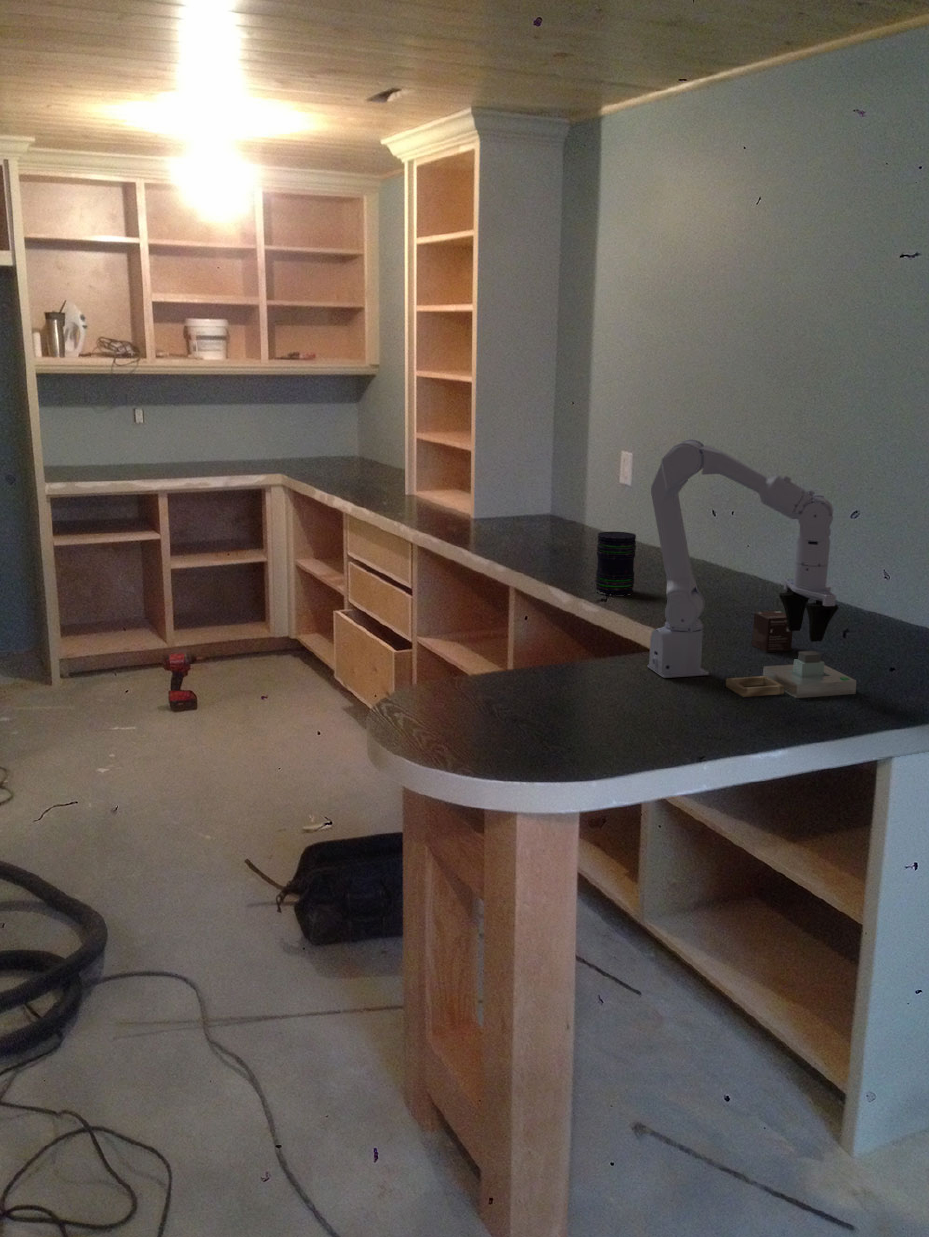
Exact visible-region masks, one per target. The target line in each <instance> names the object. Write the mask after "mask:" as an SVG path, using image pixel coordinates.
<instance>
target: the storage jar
mask: <svg viewBox="0 0 929 1237" xmlns="http://www.w3.org/2000/svg"><path fill="white" fill-rule="evenodd" d="M636 539H637V535H636V534H635V533H632V532H628V531H627V532H626V531H603V532H598V533H597V543H596V556H597V565H596V566H597V567H596V571H595V590H596V589H597V590H599V591H600V592H603V593H606V594H611V595H628V594H632V593H633V594H634V584H635V571H634V567H635V566H634V565H635V557H636V550H637V549H636V548H637V545H636ZM633 594H632V595H633Z"/></svg>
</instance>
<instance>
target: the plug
mask: <svg viewBox="0 0 929 1237" xmlns="http://www.w3.org/2000/svg"><path fill="white" fill-rule="evenodd" d="M797 654H798V655H797V659H795V658H794V659H793V664H794V665H793V664H792V665H793V674H795V675H796V676H798V677H800V678H807V677H822V676H823V673H824V665H825V661H823V660H822V659H821V658H822V654H821V653H819V652H818V651H815V650H807V651H798V653H797Z"/></svg>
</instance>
